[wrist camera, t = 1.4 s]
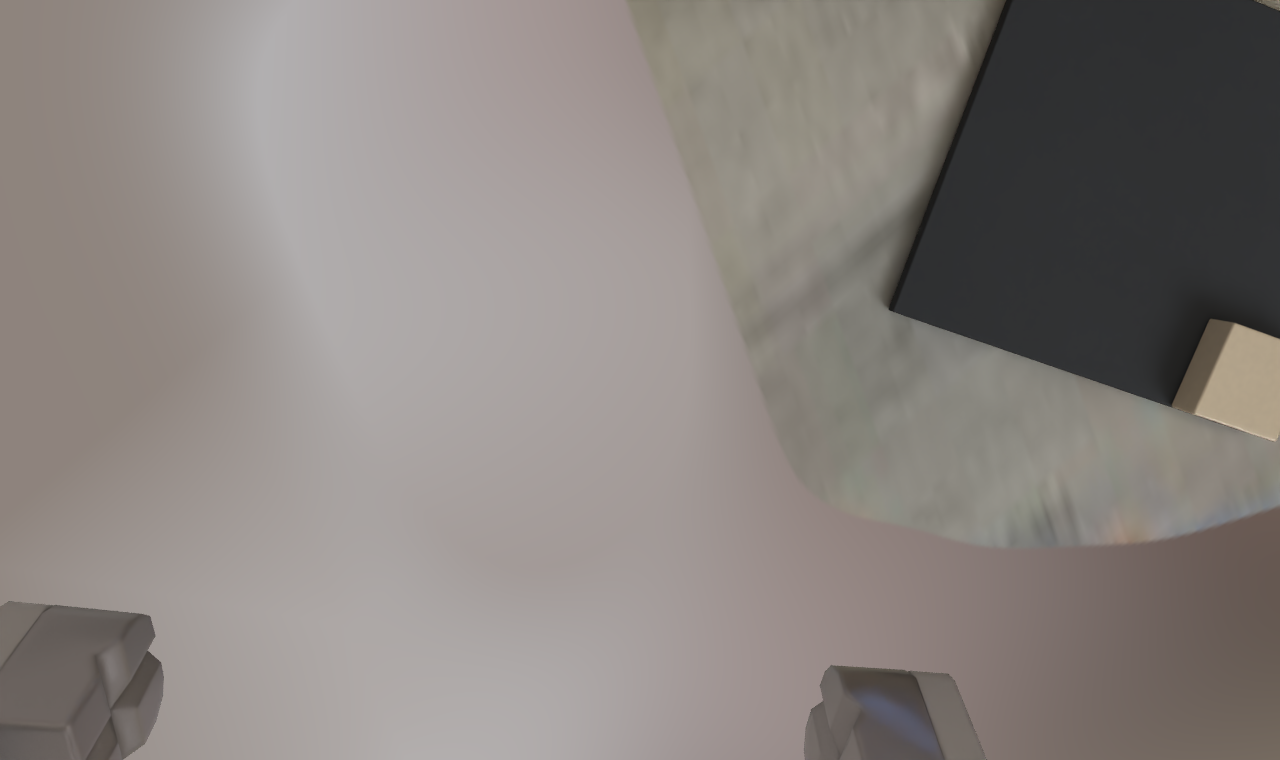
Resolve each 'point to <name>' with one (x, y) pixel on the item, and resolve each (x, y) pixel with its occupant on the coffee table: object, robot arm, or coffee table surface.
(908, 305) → the mat
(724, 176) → the coffee table surface
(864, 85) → the coffee table surface
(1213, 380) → the crumb
